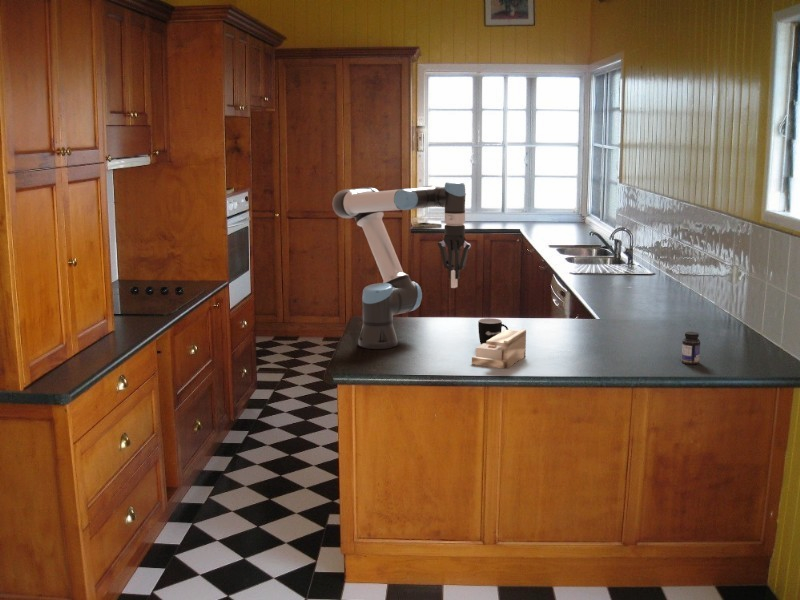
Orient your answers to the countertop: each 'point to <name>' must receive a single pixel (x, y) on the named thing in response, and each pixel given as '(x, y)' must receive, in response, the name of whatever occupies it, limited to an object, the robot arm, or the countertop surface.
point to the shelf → (505, 349)
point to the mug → (489, 328)
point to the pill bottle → (691, 348)
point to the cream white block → (490, 351)
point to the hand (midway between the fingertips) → (454, 287)
